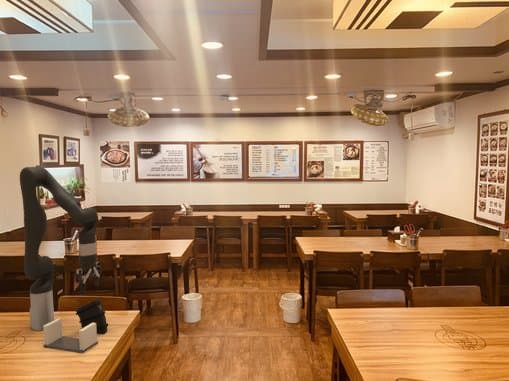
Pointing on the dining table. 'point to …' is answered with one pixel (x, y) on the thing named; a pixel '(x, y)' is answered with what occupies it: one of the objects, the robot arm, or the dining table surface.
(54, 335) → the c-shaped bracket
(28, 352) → the dining table surface
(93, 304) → the magazine
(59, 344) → the rail plate
